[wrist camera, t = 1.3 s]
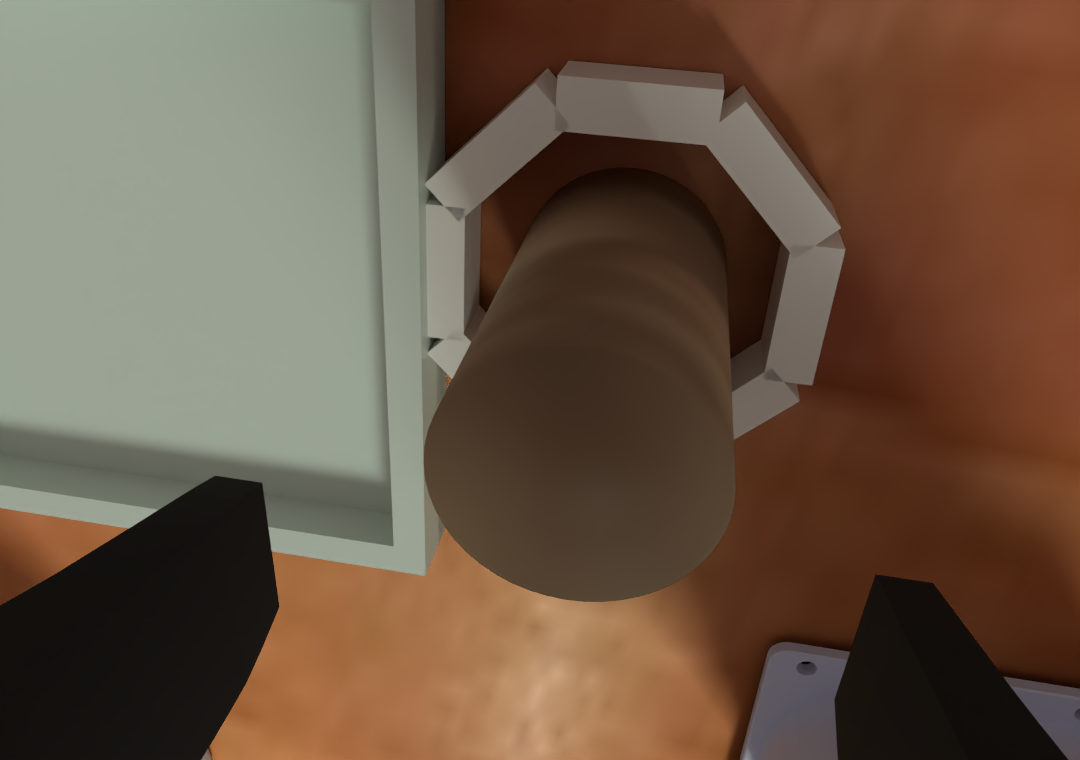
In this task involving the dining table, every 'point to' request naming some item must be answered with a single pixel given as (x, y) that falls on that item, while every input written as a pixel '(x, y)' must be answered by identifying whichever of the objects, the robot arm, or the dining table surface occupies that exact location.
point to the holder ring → (663, 115)
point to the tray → (222, 263)
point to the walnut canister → (595, 398)
